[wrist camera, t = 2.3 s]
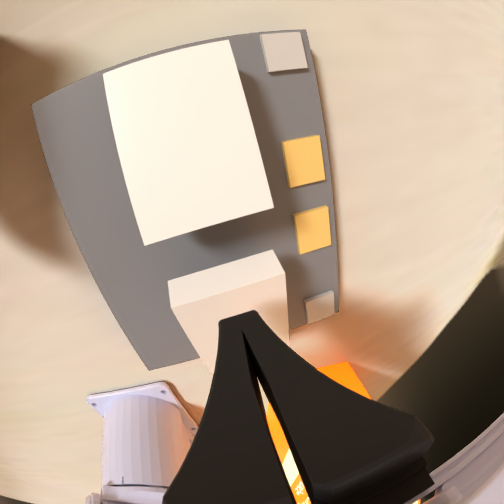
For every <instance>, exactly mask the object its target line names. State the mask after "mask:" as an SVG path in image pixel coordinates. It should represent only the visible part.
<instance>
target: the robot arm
mask: <svg viewBox="0 0 504 504" xmlns="http://www.w3.org/2000/svg"><path fill="white" fill-rule="evenodd" d="M218 327H219V337H218V349H217V357H216V364H215V370H214V375H213V379H212V384H211V389H210V393H209V396H208V400H207V404H206V407H205V410H204V413H203V416H202V419H201V422H200V424H199V427H198V425H197V424H196V423H195V422H194V420H193V419H192V418H191V416H190V415H189V414H188V412H187V411H186V410H185V408H184V407H183V406H182V404H181V403H180V402H179V400H178V399H177V398H176V396H175V395H174V393H173V392H172V391H171V389H170V388H169V386H168V385H167V384H166V383H164V382H157V383H152V384H148V385H143V386H138V387H133V388H128V389H123V390H117V391H112V392H106V393H100V394H94V395H88V396H87V397H86V401H87V402H88V403H89V404H90V405H91V406H92V407H93V408H94V409H95V410H96V411H97V412H98V413H99V414H100V415H101V416H102V417H103V418H104V425H103V442H102V489H101V494H100V495H99V494H97V493H91V496H88V497H87V498H86V504H297V502H296V500H295V497H294V495H293V492H292V489H291V487H290V484H289V482H288V479H287V476H286V474H285V471H284V468H283V466H282V463H281V460H280V458H279V455H278V452H277V450H276V447H275V444H274V441H273V438H272V436H271V432H270V429H269V425H268V421H267V417H266V413H265V409H264V405H263V400H262V396H261V392H260V388H259V383H258V380H259V382H260V384H261V386H262V388H263V390H264V392H265V394H266V397H267V399H268V401H269V403H270V405H271V407H272V409H273V411H274V413H275V415H276V417H277V419H278V421H279V424H280V426H281V428H282V430H283V433H284V435H285V438H286V441H287V443H288V446H289V449H290V451H291V454H292V456H293V459H294V462H295V464H296V467H297V469H298V472H299V474H300V477H301V480H302V482H303V485H304V487H305V490H306V492H307V495H308V497H309V500H310V502H311V504H413V503H414V502H416V501H418V500H419V499H421V498H422V497H424V496H425V495H427V494H429V493H430V492H432V491H433V490H435V489H436V488H437V487H438V488H437V489H436V491H435V496H434V497H433V498H431V499H429V500H428V501H426V502H424V503H423V504H504V413H503V414H502V415H501V416H500V417H499V418H498V419H497V420H496V421H495V422H494V423H493V424H492V425H491V426H489V428H487V429H486V430H485V431H484V432H483V433H482V434H481V435H479V436H478V437H477V438H476V439H475V440H474V441H472V442H471V443H470V444H469V445H468V446H466V447H465V448H464V449H463V450H461V451H460V452H459V453H458V454H456V455H455V456H454V457H452V458H451V459H450V460H448V461H447V462H446V463H444V464H443V465H441V466H440V467H439V468H437V469H436V470H434V471H433V472H431V473H430V474H429V473H428V472H427V470H426V468H425V466H426V465H427V463H426V461H425V460H424V458H423V457H422V455H423V454H424V453H425V452H426V451H427V450H428V449H429V447H430V446H431V445H432V443H433V440H434V437H433V436H432V434H431V433H430V431H429V430H428V429H427V428H426V427H425V425H424V424H423V423H422V422H421V421H420V420H419V419H418V418H417V417H416V416H415V415H413V414H410V413H407V412H404V411H400V410H397V409H394V408H391V407H389V406H386V405H383V404H381V403H379V402H376V401H374V400H371V399H369V398H367V397H365V396H363V395H361V394H359V393H357V392H355V391H353V390H351V389H349V388H347V387H345V386H343V385H341V384H340V383H338V382H336V381H335V380H333V379H331V378H330V377H328V376H326V375H325V374H323V373H322V372H320V371H319V370H317V369H316V368H315V367H313V366H312V365H311V364H309V363H308V362H307V361H305V360H304V359H303V358H302V357H300V356H299V355H298V354H297V353H296V352H294V351H293V350H292V349H291V348H290V347H289V346H288V345H287V344H286V343H284V342H283V341H282V340H281V339H280V338H279V337H278V336H277V335H276V334H275V333H274V332H273V331H272V329H271V328H270V327H269V326H268V325H267V324H266V323H265V321H264V320H263V319H262V318H261V316H260V315H259V313H258V312H257V311H255V310H251V311H248V312H245V313H241V314H238V315H235V316H232V317H228V318H225V319H222V320H220V321H219V323H218ZM257 377H258V379H257ZM193 436H195V437H194V440H193Z"/></svg>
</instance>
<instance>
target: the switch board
mask: <svg viewBox="0 0 504 504" xmlns="http://www.w3.org/2000/svg"><path fill="white" fill-rule="evenodd" d="M224 40H229V43H230V46H231V49H232V53H233V56H234V59H235V63H236V66H237V70H238V73H239V77H240V80H241V84H242V87H243V91H244V94H245V98H246V102H247V105H248V109H249V113H250V116H251V120H252V124H253V127H254V131H255V135H256V139H257V142H258V146H259V150H260V154H261V158H262V162H263V166H264V170H265V173H266V177H267V181H268V185H269V189H270V193H271V197H272V202H273V206H274V208H271V209H268V210H264V211H260V212H257V213H253V214H250V215H246V216H242V217H239V218H235V219H232V220H228V221H225V222H221V223H218V224H215V225H211V226H208V227H204V228H201V229H198V230H194V231H191V232H188V233H184V234H181V235H178V236H175V237H171V238H168V239H165V240H162V241H158V242H155V243H152V244H149V245H146V246H144V243H143V240H142V237H141V233H140V230H139V227H138V224H137V221H136V217H135V214H134V211H133V207H132V204H131V200H130V197H129V193H128V189H127V186H126V182H125V178H124V174H123V170H122V166H121V162H120V158H119V154H118V150H117V146H116V141H115V137H114V132H113V127H112V123H111V118H110V113H109V107H108V102H107V97H106V91H105V85H104V79H103V74H104V73H106V72H109V71H111V70H114V69H117V68H119V67H122V66H125V65H128V64H131V63H134V62H137V61H140V60H143V59H147V58H150V57H153V56H157V55H160V54H164V53H168V52H172V51H175V50H180V49H184V48H188V47H192V46H197V45H202V44H207V43H212V42H218V41H224ZM31 106H32V111H33V115H34V120H35V124H36V128H37V132H38V135H39V139H40V143H41V146H42V150H43V153H44V156H45V160H46V163H47V166H48V169H49V172H50V175H51V178H52V181H53V184H54V187H55V190H56V193H57V195H58V198H59V201H60V203H61V206H62V208H63V211H64V214H65V216H66V219H67V221H68V223H69V226H70V228H71V231H72V233H73V235H74V237H75V240H76V242H77V244H78V246H79V249H80V251H81V253H82V255H83V257H84V259H85V261H86V264H87V266H88V268H89V270H90V272H91V274H92V276H93V278H94V280H95V282H96V284H97V285H98V287H99V289H100V291H101V293H102V295H103V297H104V299H105V300H106V302H107V304H108V306H109V308H110V309H111V311H112V313H113V315H114V316H115V318H116V320H117V322H118V323H119V325H120V327H121V328H122V330H123V332H124V333H125V335H126V336H127V338H128V340H129V341H130V343H131V344H132V346H133V348H134V349H135V351H136V352H137V354H138V355H139V357H140V358H141V360H142V361H143V363H144V364H145V366H146V367H147V369H148V370H154V369H158V368H162V367H166V366H170V365H174V364H178V363H182V362H186V361H190V360H194V359H197V358H200V356H199V355H198V353H197V351H196V350H195V348H194V346H193V345H192V343H191V342H190V340H189V338H188V337H187V335H186V333H185V332H184V330H183V328H182V326H181V325H180V323H179V321H178V320H177V318H176V316H175V314H174V313H173V311H172V309H171V305H170V297H169V289H168V281H169V280H172V279H175V278H179V277H182V276H185V275H189V274H192V273H196V272H199V271H202V270H206V269H209V268H212V267H216V266H219V265H222V264H226V263H229V262H232V261H236V260H239V259H242V258H246V257H249V256H252V255H256V254H259V253H262V252H266V251H269V250H272V249H273V251H274V253H275V255H276V257H277V259H278V260H279V262H280V264H281V266H282V268H283V270H284V272H285V277H286V292H287V308H288V324H289V330H291V329H294V328H297V327H300V326H302V325H305V324H308V325H309V324H311V323H314V322H317V321H319V320H322V319H325V318H327V317H330V316H333V315H334V314H335V313H337V312H339V292H338V264H337V245H336V229H335V216H334V204H333V193H332V183H331V174H330V165H329V157H328V149H327V142H326V134H325V127H324V121H323V114H322V108H321V102H320V96H319V90H318V85H317V80H316V74H315V69H314V64H313V59H312V54H311V50H310V45H309V41H308V36H307V32H306V30H282V31H269V32H258V33H249V34H241V35H234V36H227V37H221V38H215V39H210V40H204V41H199V42H195V43H190V44H186V45H181V46H177V47H173V48H169V49H166V50H162V51H158V52H155V53H151V54H148V55H145V56H141V57H138V58H135V59H132V60H129V61H126V62H123V63H121V64H118V65H115V66H112V67H110V68H107V69H104V70H102V71H99V72H97V73H94V74H92V75H90V76H87V77H85V78H83V79H80V80H78V81H76V82H74V83H72V84H69V85H67V86H65V87H63V88H61V89H59V90H57V91H55V92H53V93H51V94H49V95H47V96H45V97H44V98H42V99H40V100H38V101H36V102H35V103H33V104H31Z"/></svg>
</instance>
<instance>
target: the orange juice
mask: <svg viewBox="0 0 504 504" xmlns="http://www.w3.org/2000/svg"><path fill="white" fill-rule="evenodd" d="M316 369H317V370H319V371H320V372H322V373H323V374H325V375H326V376H328V377H330V378H331V379H333V380H335V381H336V382H338V383H340V384H341V385H343V386H345V387H347V388H349V389H351V390H353V391H355V392H357V393H359V394H361V395H363V396H365V397H367V398H369V399H371V397H370V396H369V394H368V393H367V391H366V389H365V388H364V386H363V385H362V383H361V382H360V380H359V379H358V377H357V376H356V374H355V373H354V371H353V369H352V368H351V366H350V365H349V363H348V362H347V361H346V362H342V363H337V364H333V365H329V366H325V367H320V368H316ZM371 400H372V399H371ZM266 417H267V421H268V425H269V429H270V432H271V436H272V438H273V441H274V444H275V447H276V450H277V452H278V455H279V458H280V460H281V463H282V466H283V468H284V471H285V474H286V476H287V479H288V482H289V484H290V487H291V489H292V492H293V495H294V497H295V500H296V502H297V504H311V502H310V500H309V497H308V495H307V492H306V490H305V487H304V485H303V482H302V480H301V477H300V474H299V472H298V469H297V467H296V464H295V462H294V459H293V456H292V454H291V451H290V449H289V446H288V443H287V441H286V438H285V435H284V433H283V430H282V428H281V426H280V424H279V421H278V419H277V417H276V415H275V413H274V411H273V409H272V407H271V405H270V403H269V405H268V410H267V415H266ZM413 504H420V499H419V500H418V501H416V502H414V503H413Z"/></svg>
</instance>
